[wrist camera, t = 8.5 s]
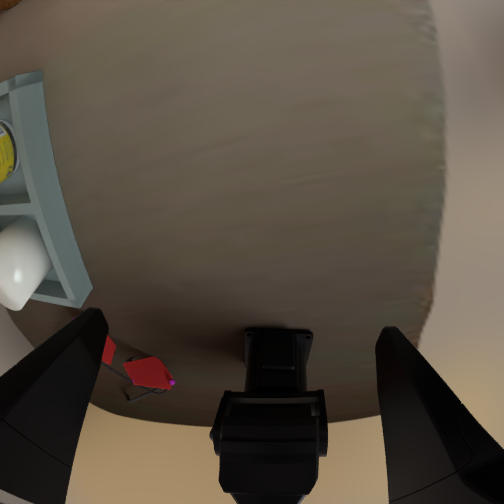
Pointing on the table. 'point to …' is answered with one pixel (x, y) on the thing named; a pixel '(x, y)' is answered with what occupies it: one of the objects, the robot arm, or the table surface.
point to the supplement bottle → (7, 151)
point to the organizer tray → (40, 191)
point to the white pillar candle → (21, 262)
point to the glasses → (141, 371)
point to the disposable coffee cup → (8, 4)
